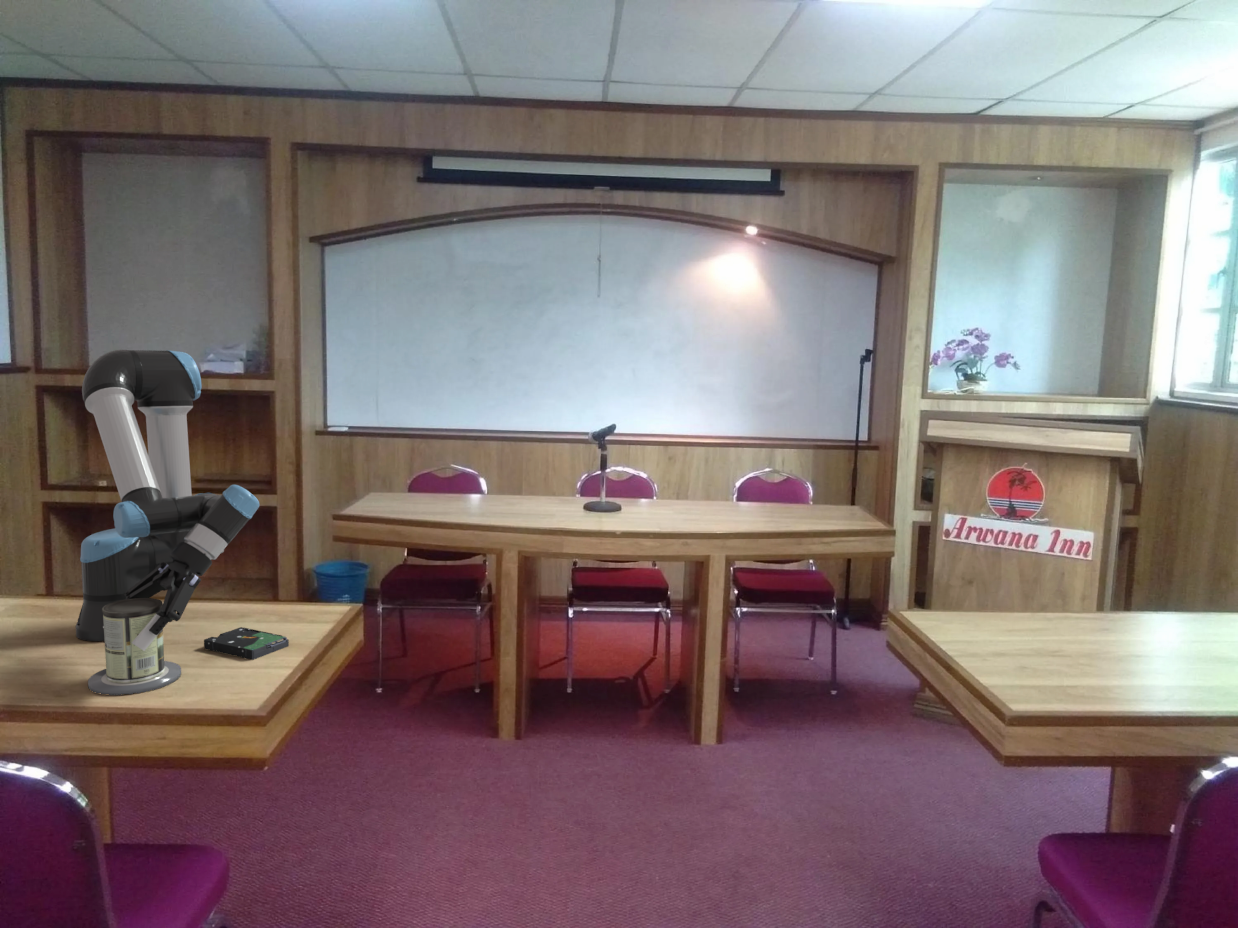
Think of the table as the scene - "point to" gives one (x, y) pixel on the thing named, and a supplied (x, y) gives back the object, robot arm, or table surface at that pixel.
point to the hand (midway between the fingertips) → (122, 638)
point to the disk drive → (246, 643)
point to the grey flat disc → (104, 686)
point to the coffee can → (119, 634)
